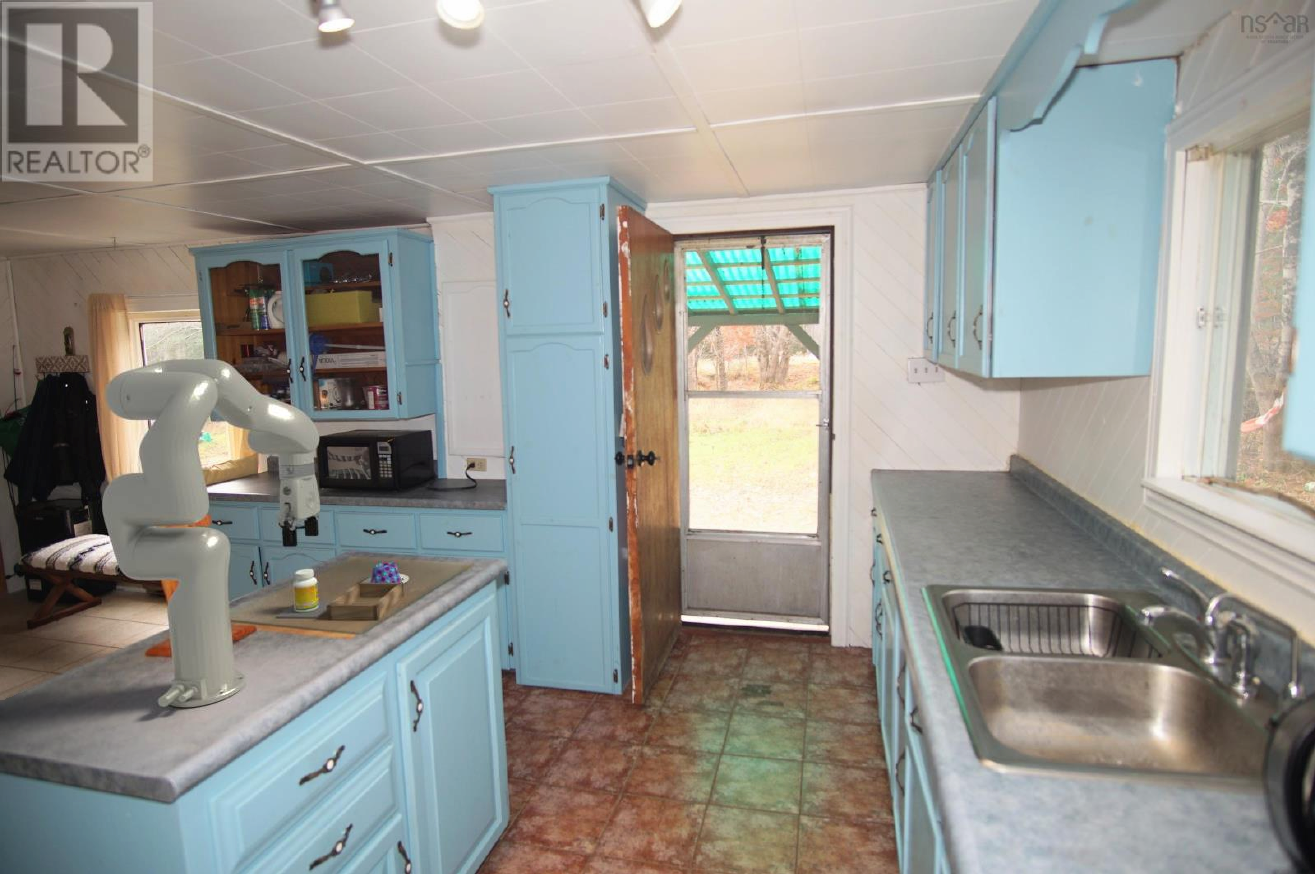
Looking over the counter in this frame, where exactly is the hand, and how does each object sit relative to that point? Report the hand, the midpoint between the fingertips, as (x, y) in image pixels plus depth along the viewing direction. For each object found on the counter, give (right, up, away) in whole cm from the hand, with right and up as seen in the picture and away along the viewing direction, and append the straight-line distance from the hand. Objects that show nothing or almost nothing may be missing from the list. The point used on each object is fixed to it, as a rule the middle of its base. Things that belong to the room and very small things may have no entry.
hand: (301, 540), depth 167 cm
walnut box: (+14, -17, +5) cm, 23 cm away
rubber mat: (0, -18, +3) cm, 18 cm away
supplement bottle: (0, -17, +3) cm, 18 cm away
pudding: (+12, -15, +23) cm, 30 cm away
